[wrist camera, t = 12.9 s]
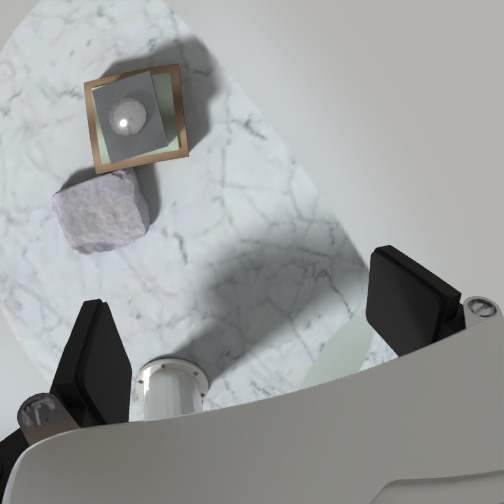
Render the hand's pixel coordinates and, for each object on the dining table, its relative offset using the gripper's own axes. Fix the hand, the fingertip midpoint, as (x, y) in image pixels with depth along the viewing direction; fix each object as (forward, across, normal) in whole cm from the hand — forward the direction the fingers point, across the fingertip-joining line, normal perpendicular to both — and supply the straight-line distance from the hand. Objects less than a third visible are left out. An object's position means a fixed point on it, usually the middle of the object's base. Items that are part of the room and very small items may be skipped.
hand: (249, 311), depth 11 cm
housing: (+28, +6, -8) cm, 30 cm away
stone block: (+33, +12, +3) cm, 35 cm away
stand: (+32, +6, -8) cm, 34 cm away
